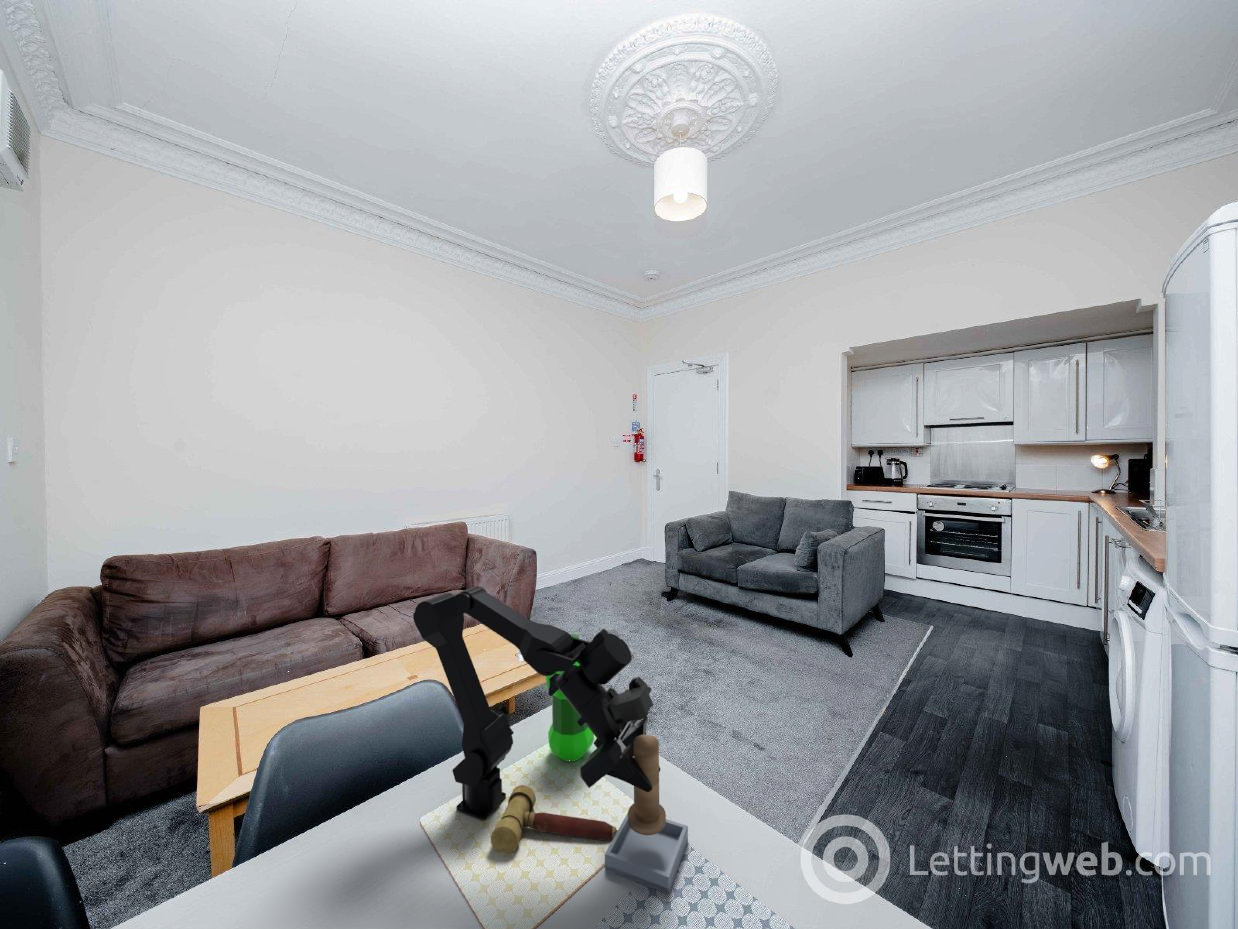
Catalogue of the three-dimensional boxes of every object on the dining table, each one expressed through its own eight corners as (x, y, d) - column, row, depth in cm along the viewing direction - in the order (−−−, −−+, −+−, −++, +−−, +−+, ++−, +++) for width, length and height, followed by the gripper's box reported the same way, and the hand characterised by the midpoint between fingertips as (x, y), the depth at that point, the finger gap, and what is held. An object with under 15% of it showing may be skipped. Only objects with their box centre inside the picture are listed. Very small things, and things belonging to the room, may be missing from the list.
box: (605, 870, 72) (604, 854, 71) (630, 822, 81) (630, 808, 81) (668, 894, 67) (668, 877, 67) (687, 841, 77) (687, 826, 77)
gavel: (626, 798, 83) (619, 845, 73) (625, 824, 83) (618, 873, 73) (512, 782, 85) (490, 825, 75) (511, 807, 85) (489, 853, 75)
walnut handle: (620, 821, 74) (619, 743, 74) (643, 800, 78) (642, 726, 78) (650, 842, 70) (649, 759, 70) (673, 818, 74) (672, 740, 74)
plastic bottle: (571, 733, 107) (569, 625, 107) (605, 752, 100) (603, 636, 100) (537, 755, 100) (534, 638, 99) (571, 776, 93) (568, 651, 92)
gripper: (598, 698, 66) (675, 794, 63) (640, 648, 84) (701, 720, 80) (550, 741, 69) (620, 836, 66) (600, 684, 87) (658, 756, 83)
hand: (654, 781), depth 73 cm, fingers closed on walnut handle, 4 cm apart
